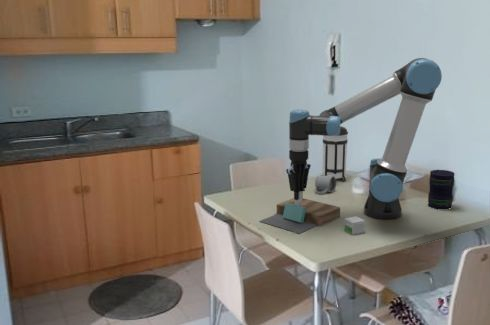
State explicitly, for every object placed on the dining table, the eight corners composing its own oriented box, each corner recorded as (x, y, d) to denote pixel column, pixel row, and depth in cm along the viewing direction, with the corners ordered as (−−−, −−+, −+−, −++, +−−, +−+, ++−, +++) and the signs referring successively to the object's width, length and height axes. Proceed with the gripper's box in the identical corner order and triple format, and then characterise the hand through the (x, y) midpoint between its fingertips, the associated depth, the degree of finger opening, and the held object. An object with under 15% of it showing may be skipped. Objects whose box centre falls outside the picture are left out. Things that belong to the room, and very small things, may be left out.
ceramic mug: (321, 187, 249) (321, 172, 247) (336, 190, 244) (336, 174, 242) (310, 193, 240) (310, 177, 238) (326, 196, 236) (326, 180, 234)
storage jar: (456, 206, 218) (459, 172, 214) (444, 211, 212) (446, 177, 208) (435, 201, 225) (438, 168, 222) (422, 205, 219) (425, 172, 216)
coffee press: (312, 178, 265) (312, 121, 258) (334, 173, 274) (336, 118, 267) (335, 185, 251) (336, 125, 244) (358, 180, 260) (360, 122, 253)
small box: (343, 230, 194) (344, 218, 193) (356, 227, 196) (356, 215, 195) (352, 235, 189) (353, 222, 187) (365, 232, 191) (365, 220, 190)
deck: (339, 216, 208) (340, 207, 207) (320, 225, 198) (320, 216, 197) (297, 205, 223) (297, 196, 222) (276, 213, 213) (276, 204, 212)
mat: (317, 225, 199) (317, 224, 199) (299, 233, 190) (299, 233, 190) (278, 214, 212) (278, 213, 212) (259, 221, 204) (259, 221, 204)
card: (306, 207, 201) (303, 207, 199) (303, 222, 201) (300, 222, 199) (288, 203, 207) (285, 202, 205) (285, 217, 207) (282, 217, 205)
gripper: (301, 145, 206) (300, 201, 212) (280, 150, 197) (280, 208, 203) (316, 148, 201) (315, 204, 207) (296, 153, 192) (295, 212, 198)
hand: (298, 206), depth 205 cm, fingers closed
